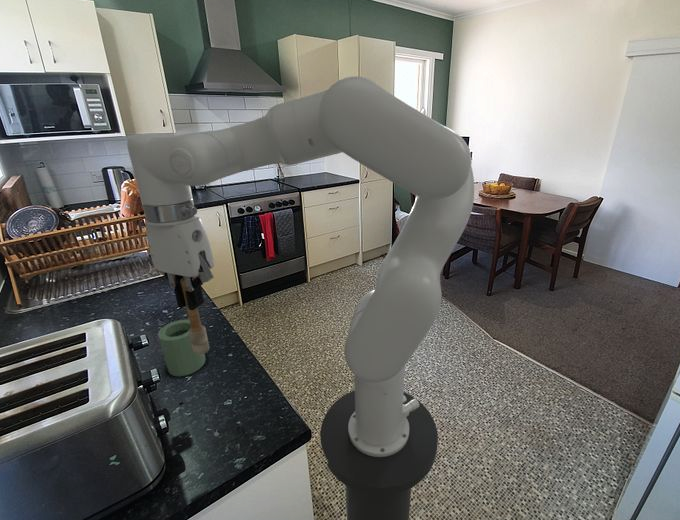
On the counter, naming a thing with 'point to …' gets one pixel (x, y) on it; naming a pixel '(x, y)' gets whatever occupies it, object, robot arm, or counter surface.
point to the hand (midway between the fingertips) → (191, 304)
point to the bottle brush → (195, 327)
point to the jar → (179, 349)
